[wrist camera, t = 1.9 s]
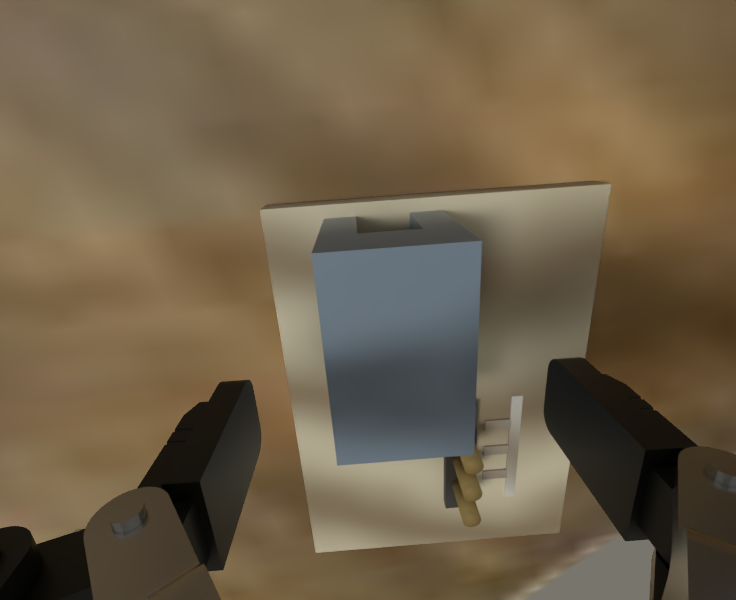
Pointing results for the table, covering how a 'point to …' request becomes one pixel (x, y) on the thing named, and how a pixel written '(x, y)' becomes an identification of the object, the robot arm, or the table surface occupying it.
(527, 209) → the board
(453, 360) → the block
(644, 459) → the robot arm
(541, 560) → the table surface
